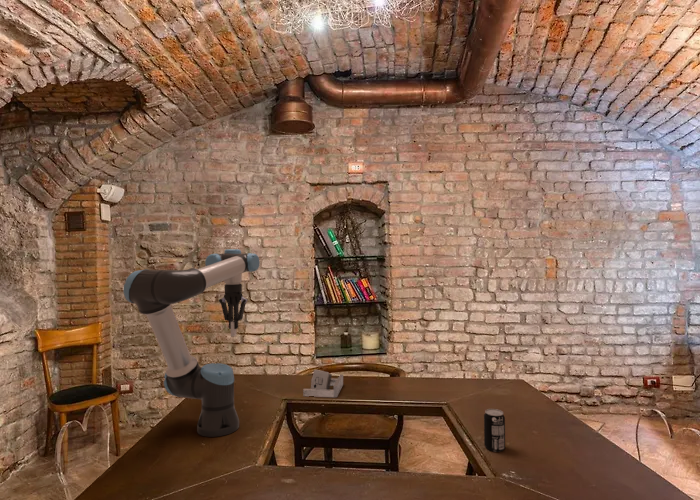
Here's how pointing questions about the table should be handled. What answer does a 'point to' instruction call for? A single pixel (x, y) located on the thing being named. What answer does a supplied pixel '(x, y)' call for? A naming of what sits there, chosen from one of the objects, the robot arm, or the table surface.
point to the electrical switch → (321, 380)
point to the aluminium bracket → (326, 392)
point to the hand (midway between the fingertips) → (233, 336)
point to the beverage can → (494, 430)
